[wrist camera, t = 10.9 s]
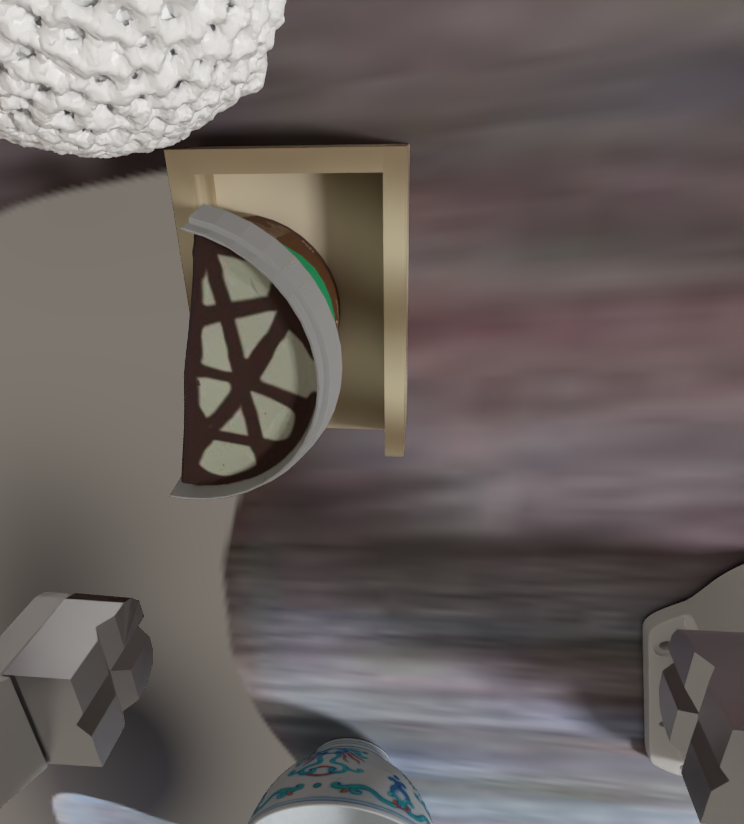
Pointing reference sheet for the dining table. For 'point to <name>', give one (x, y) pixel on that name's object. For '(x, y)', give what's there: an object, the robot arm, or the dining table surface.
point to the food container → (255, 353)
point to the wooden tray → (326, 249)
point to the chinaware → (342, 789)
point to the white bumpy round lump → (127, 69)
